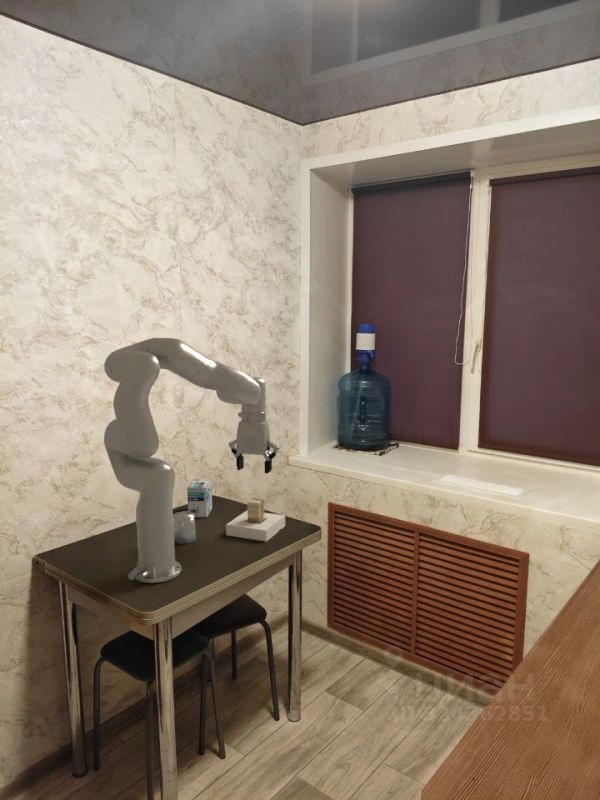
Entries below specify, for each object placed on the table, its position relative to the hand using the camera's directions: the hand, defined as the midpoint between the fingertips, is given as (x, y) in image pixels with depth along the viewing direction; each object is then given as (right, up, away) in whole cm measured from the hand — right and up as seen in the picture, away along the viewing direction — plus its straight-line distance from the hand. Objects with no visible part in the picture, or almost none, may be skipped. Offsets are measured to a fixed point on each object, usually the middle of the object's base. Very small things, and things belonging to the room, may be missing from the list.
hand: (254, 470), depth 183 cm
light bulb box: (-20, -17, +21) cm, 34 cm away
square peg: (+1, -20, +3) cm, 20 cm away
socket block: (+1, -20, +3) cm, 20 cm away
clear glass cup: (-21, -21, -4) cm, 30 cm away
